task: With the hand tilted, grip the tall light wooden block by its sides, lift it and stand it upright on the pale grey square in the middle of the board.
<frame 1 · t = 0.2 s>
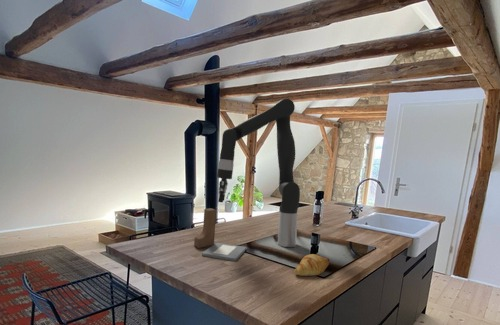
hand: (221, 201, 142), 22 cm above the worktop, tool pointing down, fingers open, 8 cm apart
socket board: (225, 252, 133), on the worktop
croissant: (311, 271, 118), on the worktop
wooden block: (204, 245, 142), on the worktop
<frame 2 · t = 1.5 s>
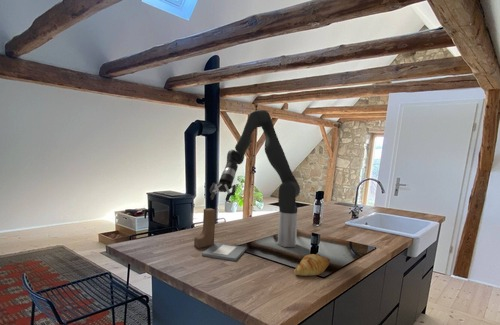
hand: (219, 199, 155), 21 cm above the worktop, tool tilted 45°, fingers open, 8 cm apart
nothing on the worktop moved.
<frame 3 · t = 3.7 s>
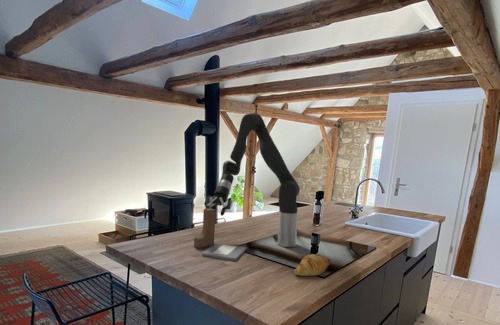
hand: (213, 213, 149), 14 cm above the worktop, tool tilted 45°, fingers open, 8 cm apart
nothing on the worktop moved.
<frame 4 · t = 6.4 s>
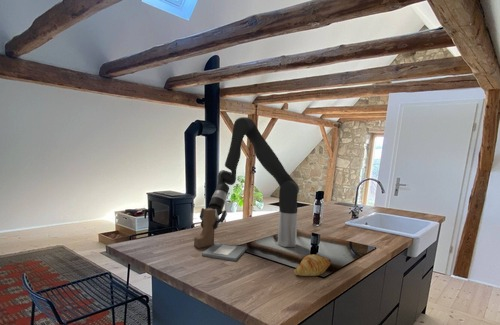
hand: (208, 227, 142), 9 cm above the worktop, tool tilted 45°, fingers closed on wooden block, 6 cm apart
wooden block: (204, 246, 142), on the worktop, touching gripper
everything else where it was.
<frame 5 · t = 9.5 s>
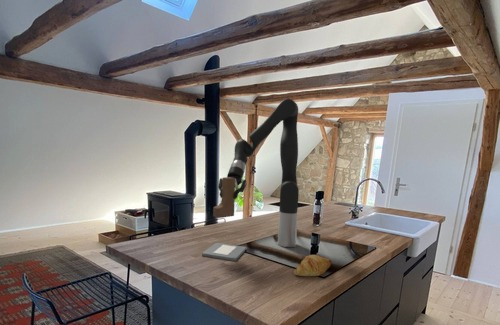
hand: (227, 197, 134), 26 cm above the worktop, tool tilted 45°, fingers closed on wooden block, 6 cm apart
wooden block: (223, 216, 134), point 17 cm above the worktop, touching gripper
everything else where it was.
when the fingers open (11 cm above the worktop, at t = 12.7 s): wooden block stays where it is, resting on socket board.
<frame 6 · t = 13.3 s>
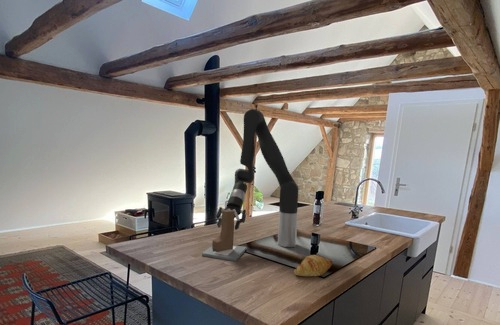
hand: (227, 227, 134), 11 cm above the worktop, tool tilted 45°, fingers open, 8 cm apart
wooden block: (222, 249, 134), point 1 cm above the worktop, touching socket board
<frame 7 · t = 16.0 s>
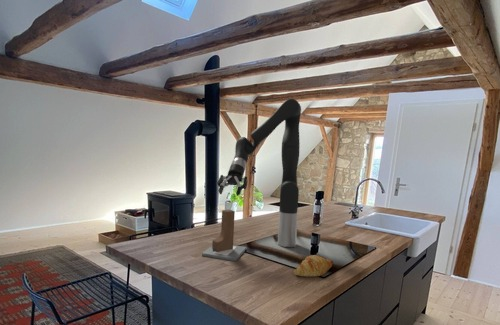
hand: (228, 193, 134), 27 cm above the worktop, tool tilted 45°, fingers open, 8 cm apart
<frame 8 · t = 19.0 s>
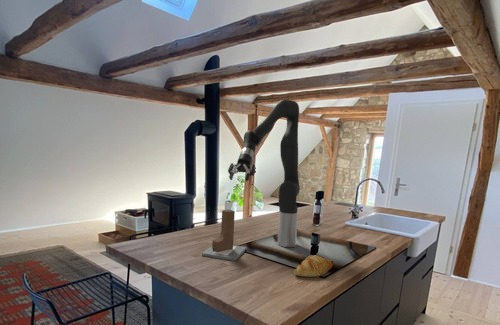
hand: (238, 179, 149), 33 cm above the worktop, tool tilted 45°, fingers open, 8 cm apart
at the end: wooden block 1.3 cm off-centre on the socket board, point 1.2 cm above the socket board's base; wooden block tilted 0°; the gripper is holding nothing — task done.
